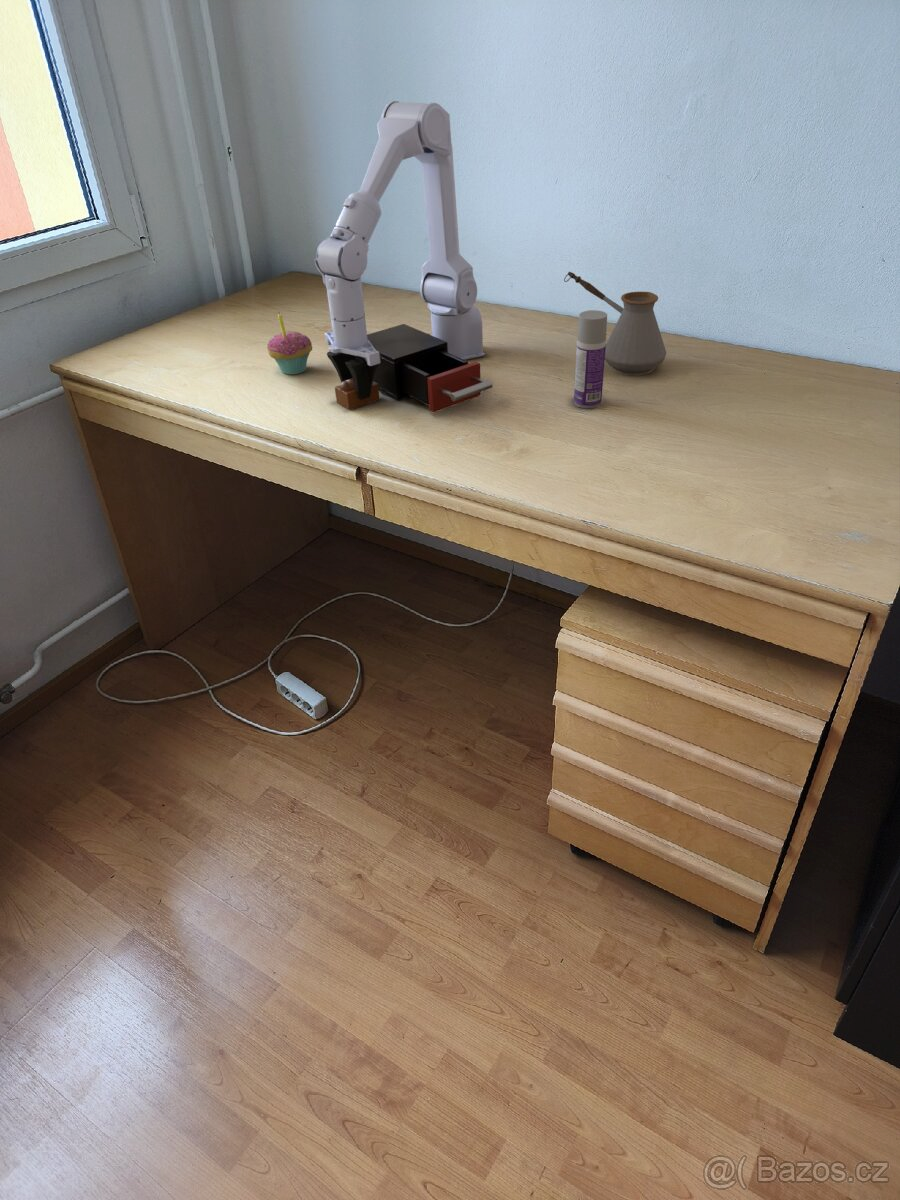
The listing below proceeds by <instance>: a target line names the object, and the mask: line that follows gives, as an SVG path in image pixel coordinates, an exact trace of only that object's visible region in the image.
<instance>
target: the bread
mask: <svg viewBox="0 0 900 1200" xmlns="http://www.w3.org/2000/svg"><path fill="white" fill-rule="evenodd" d="M334 391H335V399H336V403H337V404H338V405H340V406H342V407H343V408H345V409H347V410H348V411H351V410H353V409H356V408H360V407H362V406H365V405H367V404H371V403H373V402H377V401H380V391H379V389H378V383H376V382H374V381H373V382H372V388H371V395H370V397H368V398H365V399H362V400H360V399H359V398H358V395H357V392H356V388H355V384H354V380H353V378H352V379H349V380H345V381H343V382H342V383H341V382H340V384H339V385H336V386H334Z"/></svg>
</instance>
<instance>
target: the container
mask: <svg viewBox="0 0 900 1200" xmlns="http://www.w3.org/2000/svg"><path fill="white" fill-rule="evenodd" d="M607 329H608V313H607V312H605V311H602V310H597V309H596V310H594V309H593V310H584V311H582V312H579V315H578V327H577V338H576V354H575V372H574V391H573V392H574V393H573V404H574V405H575V406H576V407H578V408H580V409H586V410H587V409H596V408H598V407H600V406H601V405H602V398H603V387H604V374H605V363H606V361H605V350H606V343H607Z"/></svg>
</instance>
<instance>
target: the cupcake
mask: <svg viewBox="0 0 900 1200" xmlns="http://www.w3.org/2000/svg"><path fill="white" fill-rule="evenodd" d="M277 313H278V314H277V317H278V322H279V325H280V330H281V332H280V333H278V334H276V335H274V336H273V337H272V338H270V340H269V341H268V343H267V353H268V355H269V357H270V358H272V359H274V360H275V362H276V364H277V365H278V367H279V370H280V372H281V373H283V374H285V375H298V374H301V373H304V372H305V371H306V369H307V364H308V359H309V356H310V353H312V351H313V343H312V341H311V339H310V338H309V337H308V336H307V335H305V334H303V333H300V332H298V331H294V330H293V331H291V330H287V331H286V328H285V324H284V321H283V320H284V319H283V315H282V314H281V313H280V311H279V310H278V311H277Z"/></svg>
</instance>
